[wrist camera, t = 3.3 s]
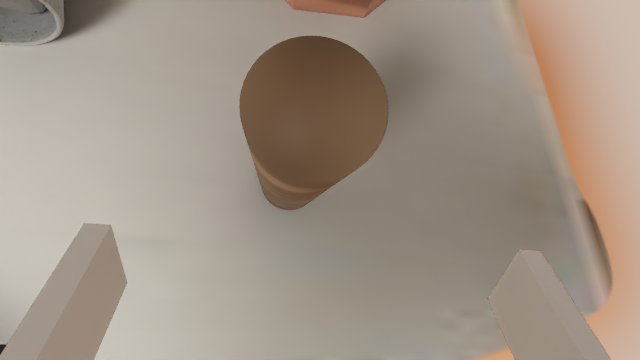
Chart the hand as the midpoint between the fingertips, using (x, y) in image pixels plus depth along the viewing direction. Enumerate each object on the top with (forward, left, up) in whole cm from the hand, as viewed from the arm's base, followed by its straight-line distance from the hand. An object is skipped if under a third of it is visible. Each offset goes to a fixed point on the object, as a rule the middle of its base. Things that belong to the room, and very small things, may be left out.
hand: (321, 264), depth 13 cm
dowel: (-1, +4, -12) cm, 13 cm away
